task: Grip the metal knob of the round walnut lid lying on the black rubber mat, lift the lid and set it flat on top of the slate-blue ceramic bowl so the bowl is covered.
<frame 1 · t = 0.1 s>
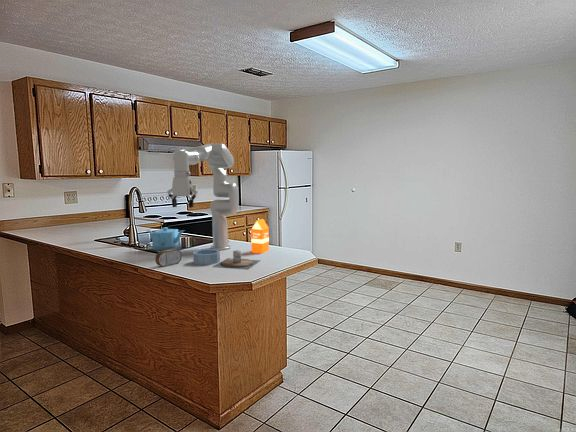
hand: (182, 207, 205), 31 cm above the table, tool pointing down, fingers open, 9 cm apart
bowl: (206, 262, 214), on the table
mat: (237, 264, 209), on the table
orange juice: (260, 251, 243), on the table
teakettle: (165, 251, 244), on the table
lid: (237, 263, 209), point 1 cm above the table, touching mat
tin: (169, 265, 209), on the table
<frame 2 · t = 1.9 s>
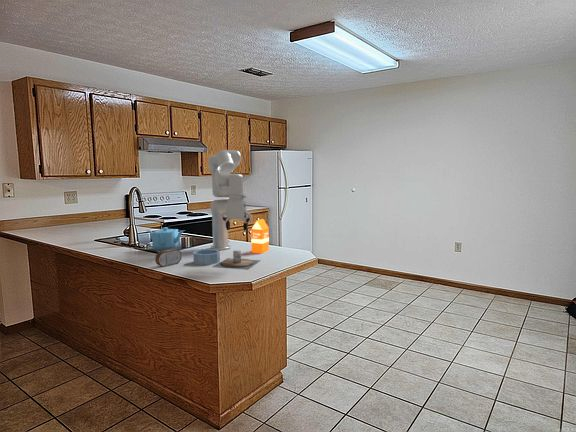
hand: (236, 230, 207), 19 cm above the table, tool pointing down, fingers open, 9 cm apart
nothing on the table moved.
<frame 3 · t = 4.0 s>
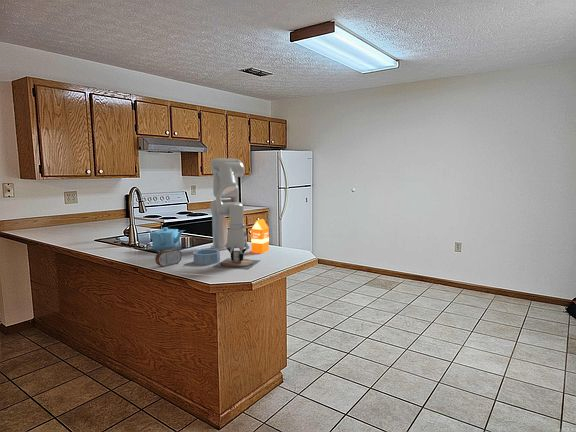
hand: (237, 260, 209), 2 cm above the table, tool pointing down, fingers closed on lid, 4 cm apart
lid: (237, 263, 209), point 1 cm above the table, touching gripper, mat
everything else where it was.
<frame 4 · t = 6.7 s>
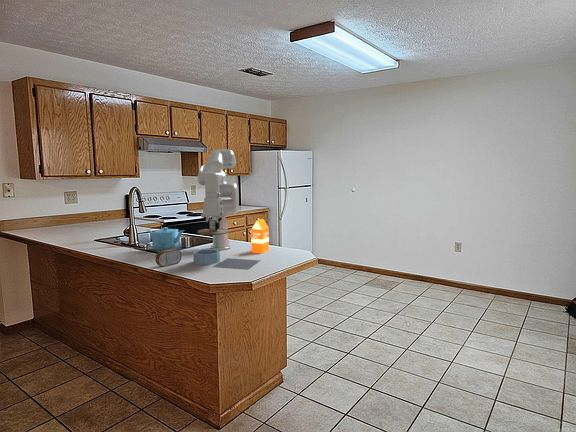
hand: (213, 228, 211), 19 cm above the table, tool pointing down, fingers closed on lid, 4 cm apart
lid: (213, 232, 211), point 17 cm above the table, touching gripper
everything else where it was.
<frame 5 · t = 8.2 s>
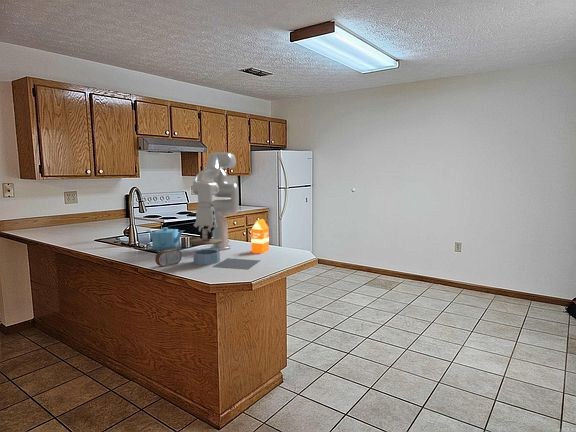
hand: (206, 238, 212), 14 cm above the table, tool pointing down, fingers closed on lid, 4 cm apart
lid: (206, 241, 212), point 12 cm above the table, touching gripper
everything else where it was.
when the fingers open (9 cm above the table, at t = 9.3 s): lid stays where it is, resting on bowl.
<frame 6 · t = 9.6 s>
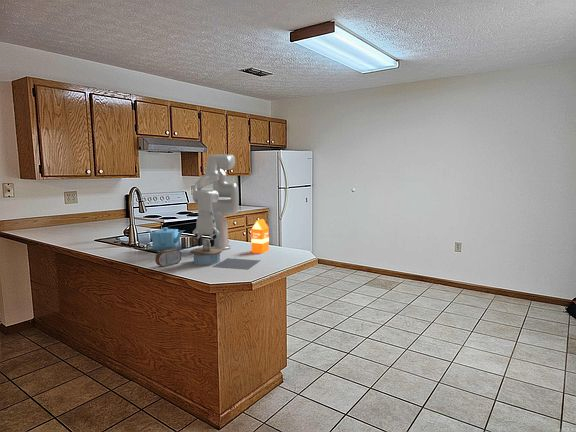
hand: (206, 246, 213), 9 cm above the table, tool pointing down, fingers open, 6 cm apart
lid: (206, 251, 213), point 6 cm above the table, touching bowl
everything else where it was.
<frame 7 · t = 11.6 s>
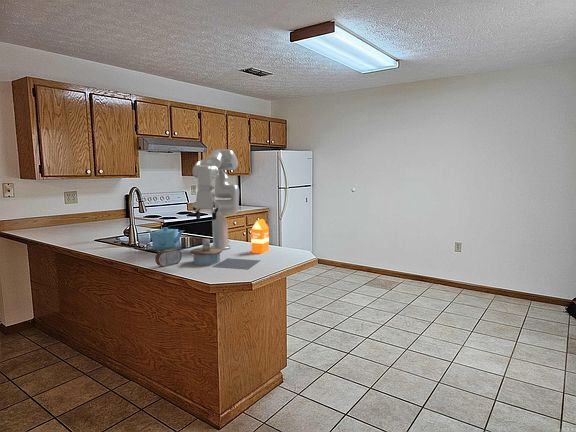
hand: (206, 219, 216), 23 cm above the table, tool pointing down, fingers open, 9 cm apart
nothing on the table moved.
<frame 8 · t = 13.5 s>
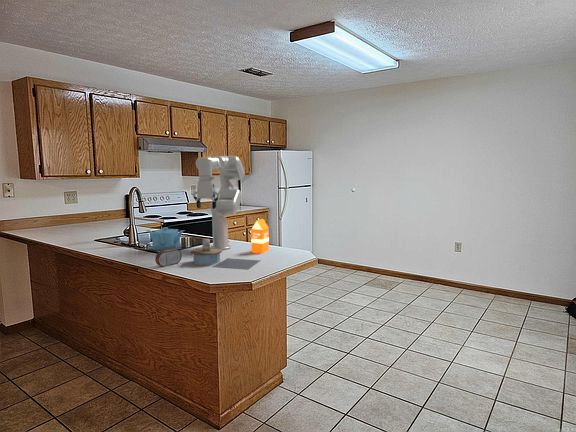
hand: (206, 208, 227), 28 cm above the table, tool pointing down, fingers open, 9 cm apart
nothing on the table moved.
at the end: lid 0.0 cm from the bowl (horizontally); lid point 6.0 cm above the table; lid tilted 0° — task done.
